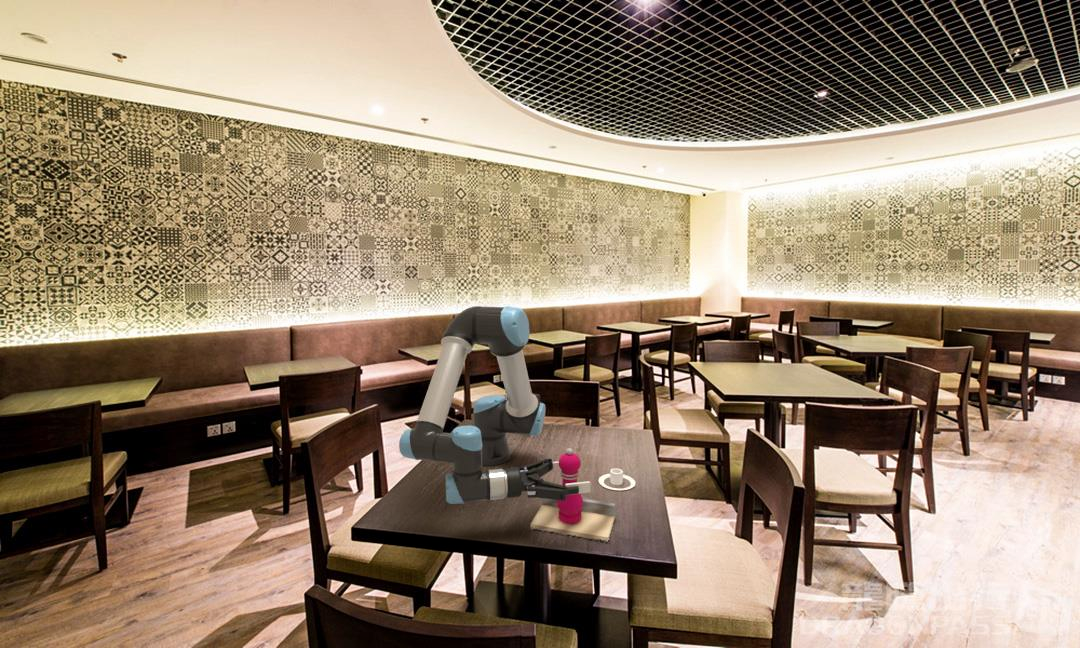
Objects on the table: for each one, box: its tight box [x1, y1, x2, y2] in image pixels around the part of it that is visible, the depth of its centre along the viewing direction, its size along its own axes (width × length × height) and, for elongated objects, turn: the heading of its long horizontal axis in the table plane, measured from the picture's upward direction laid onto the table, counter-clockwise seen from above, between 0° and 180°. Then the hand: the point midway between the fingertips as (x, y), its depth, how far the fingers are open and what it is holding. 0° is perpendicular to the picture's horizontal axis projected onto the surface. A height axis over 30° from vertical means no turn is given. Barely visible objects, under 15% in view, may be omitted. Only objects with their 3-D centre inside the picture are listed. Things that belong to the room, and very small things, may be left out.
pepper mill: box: [557, 447, 584, 524], centre depth 123 cm, size 7×7×20 cm
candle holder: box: [598, 468, 637, 491], centre depth 147 cm, size 12×12×4 cm
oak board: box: [530, 497, 616, 541], centre depth 123 cm, size 21×12×4 cm, turn 72°
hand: (582, 475), depth 123 cm, fingers open, 13 cm apart
